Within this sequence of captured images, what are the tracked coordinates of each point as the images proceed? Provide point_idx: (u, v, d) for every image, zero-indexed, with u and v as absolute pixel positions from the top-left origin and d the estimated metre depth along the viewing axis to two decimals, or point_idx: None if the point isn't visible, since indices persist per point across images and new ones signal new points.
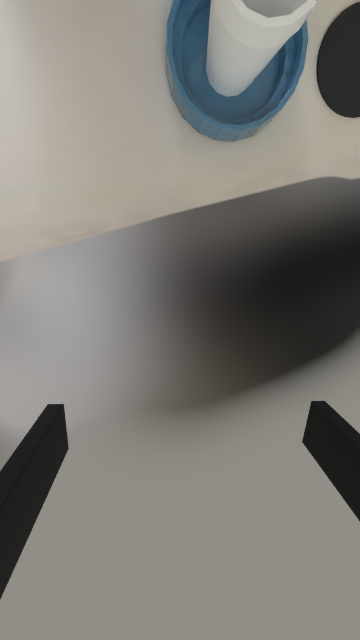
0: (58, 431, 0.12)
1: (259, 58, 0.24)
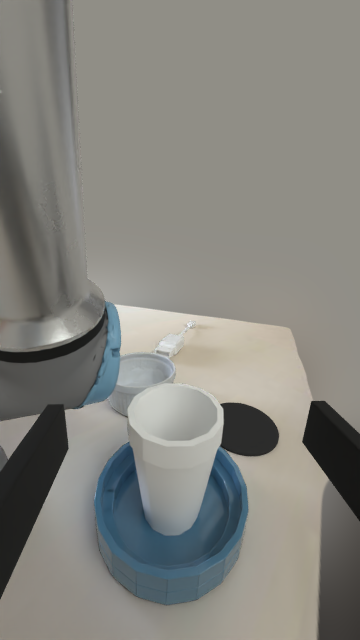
0: (58, 431, 0.12)
1: (210, 465, 0.23)
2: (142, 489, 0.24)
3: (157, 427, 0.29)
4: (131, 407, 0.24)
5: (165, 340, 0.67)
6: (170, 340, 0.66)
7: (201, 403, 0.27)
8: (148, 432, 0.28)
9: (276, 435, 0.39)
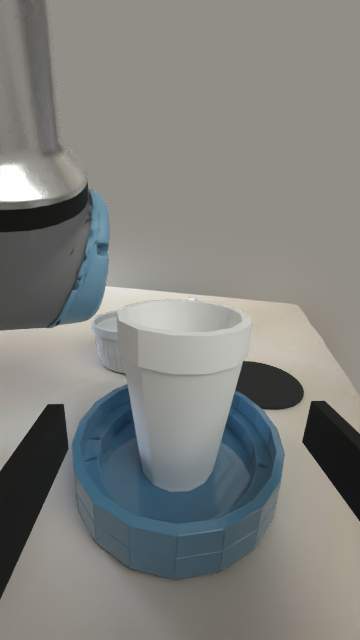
0: (58, 431, 0.12)
1: (233, 386, 0.17)
2: (138, 425, 0.18)
3: None
4: (122, 310, 0.18)
5: None
6: None
7: (216, 319, 0.21)
8: None
9: (301, 390, 0.33)
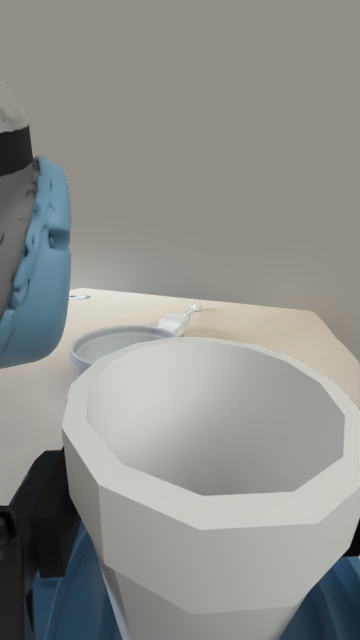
0: None
1: None
2: (117, 613, 0.09)
3: (157, 435, 0.13)
4: (84, 380, 0.09)
5: (166, 318, 0.51)
6: (172, 319, 0.51)
7: (260, 376, 0.12)
8: (136, 447, 0.12)
9: None
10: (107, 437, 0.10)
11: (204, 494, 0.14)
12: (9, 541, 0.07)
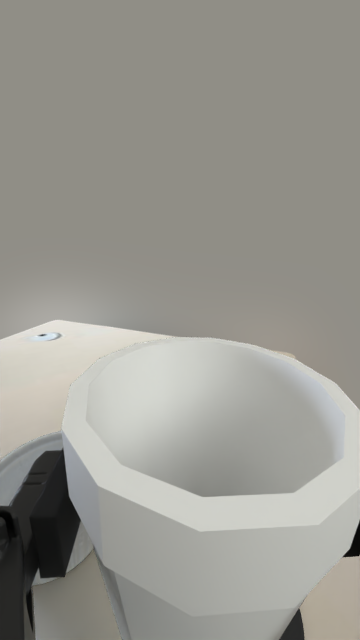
0: None
1: None
2: (116, 613, 0.09)
3: (157, 436, 0.13)
4: (83, 380, 0.09)
5: None
6: None
7: (260, 376, 0.12)
8: (136, 447, 0.12)
9: (300, 636, 0.20)
10: (107, 437, 0.10)
11: (204, 494, 0.14)
12: (9, 541, 0.07)
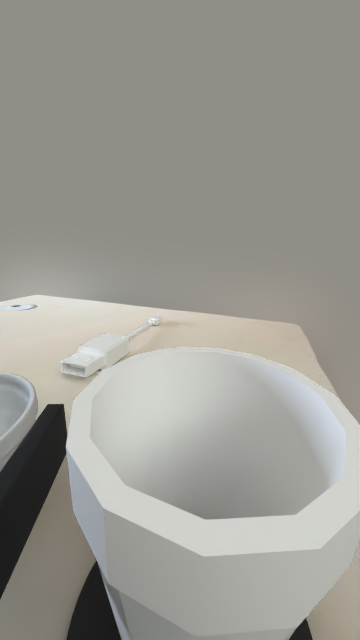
0: (58, 431, 0.12)
1: None
2: (119, 625, 0.09)
3: (158, 445, 0.13)
4: (87, 394, 0.09)
5: (89, 344, 0.38)
6: (98, 345, 0.38)
7: (261, 387, 0.12)
8: (138, 457, 0.12)
9: None
10: (110, 449, 0.10)
11: (206, 502, 0.14)
12: None
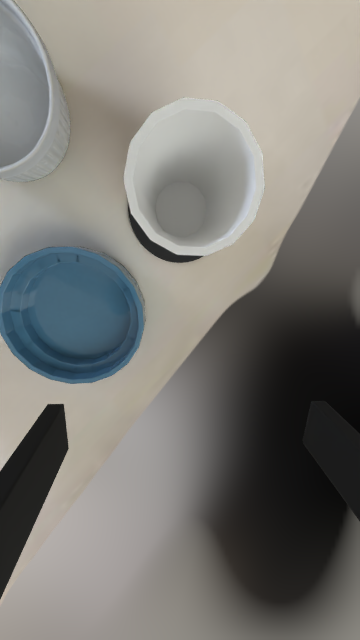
0: (58, 431, 0.12)
1: None
2: None
3: (167, 154, 0.20)
4: (128, 174, 0.16)
5: None
6: None
7: (239, 150, 0.17)
8: (155, 164, 0.20)
9: None
10: (141, 180, 0.18)
11: (195, 172, 0.24)
12: None
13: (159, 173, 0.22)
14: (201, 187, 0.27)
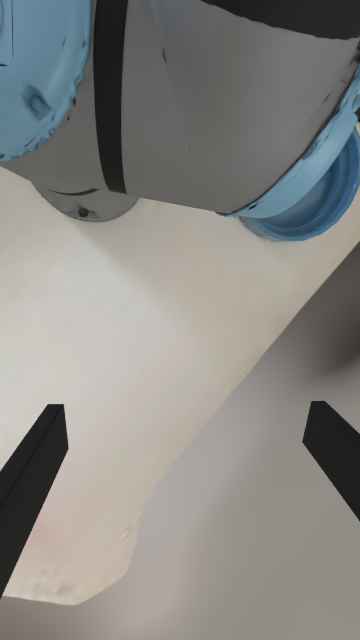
0: (58, 431, 0.12)
1: None
2: None
3: None
4: None
5: None
6: None
7: None
8: None
9: None
10: None
11: None
12: None
13: None
14: None
